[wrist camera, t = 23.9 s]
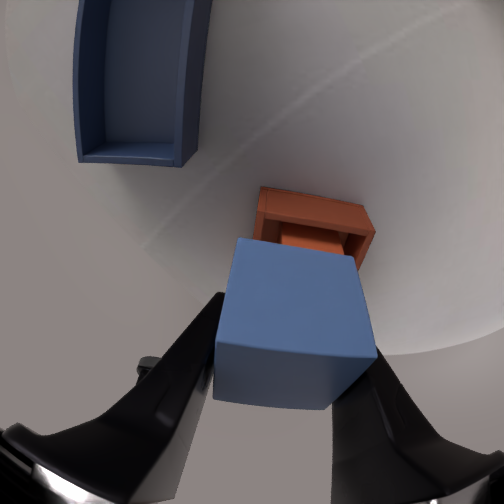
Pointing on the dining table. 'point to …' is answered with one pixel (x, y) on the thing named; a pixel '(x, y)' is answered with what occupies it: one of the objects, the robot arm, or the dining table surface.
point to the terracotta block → (309, 237)
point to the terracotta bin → (314, 219)
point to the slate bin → (138, 80)
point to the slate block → (291, 328)
